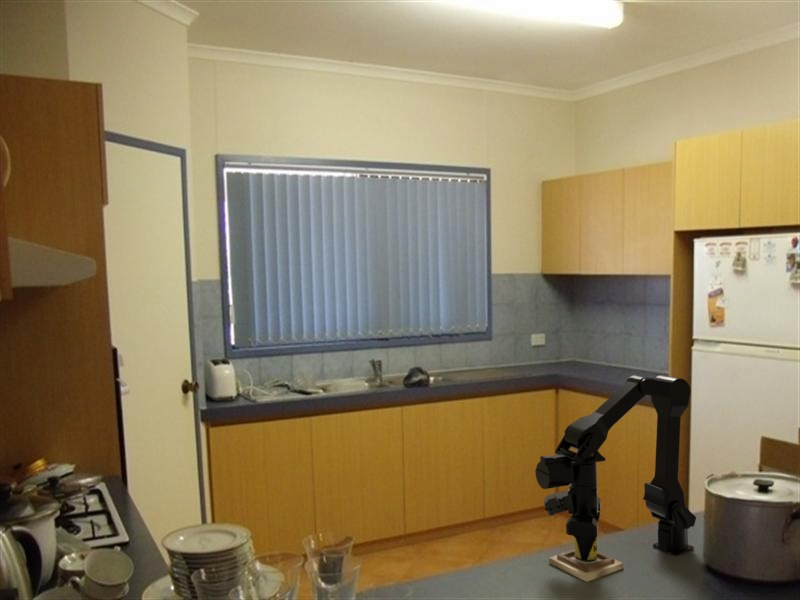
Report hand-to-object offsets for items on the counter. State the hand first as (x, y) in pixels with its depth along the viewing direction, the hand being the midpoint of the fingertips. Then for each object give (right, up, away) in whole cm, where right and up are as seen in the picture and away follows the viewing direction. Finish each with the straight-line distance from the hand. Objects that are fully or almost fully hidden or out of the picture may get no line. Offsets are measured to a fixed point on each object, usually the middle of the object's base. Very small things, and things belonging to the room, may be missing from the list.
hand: (585, 552), depth 143 cm
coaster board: (0, -3, 0) cm, 3 cm away
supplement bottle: (0, -2, 0) cm, 2 cm away
